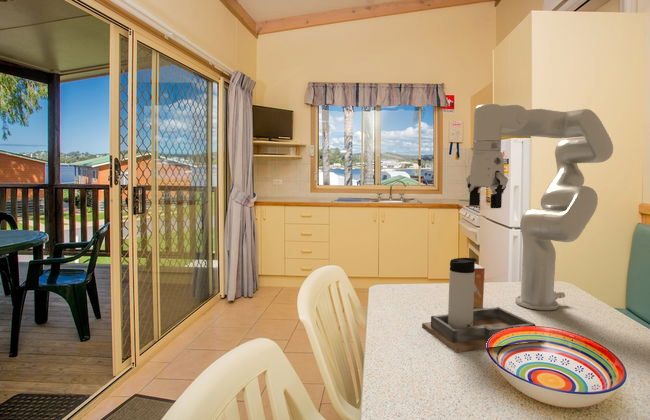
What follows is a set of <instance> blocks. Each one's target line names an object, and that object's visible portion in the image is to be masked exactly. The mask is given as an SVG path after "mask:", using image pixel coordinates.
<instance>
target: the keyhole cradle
mask: <svg viewBox="0 0 650 420" xmlns="http://www.w3.org/2000/svg"><path fill="white" fill-rule="evenodd" d="M421 326H422V328H423V329H425V330H426V331H427V332H429V333H430V334H432V335H433V336H434V337H435V338H437V339H438V340H440V341H441V342H443V344H445V345H446V346H448V347H449V348H450V349H451V350H453V351H454V352H456V353H462V352H463V353H464V352H471V351H478V350H485V349H486V343H487V341H488V339H489V338H490V337H491V336H492V335H493V334H495V333H497V332H499V331H501V330H504V329H508V328H513V327H520V326H535V327H536V324H535V323H534V322H531V321H529V320H527V319H524V318H522V317H521V316H518V315H516V314H514V313H512V312H510V311H507V310H505V309H504V308H501V307H499V306H498V307H497V306H496V307H486V308H479V309H473V327H471V328H462V329H454V328H452V327H451V326H449V325H448V313H447V314H438V315H431V316H430V321H429V322H422V323H421Z"/></svg>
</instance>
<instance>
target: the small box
mask: <svg viewBox="0 0 650 420" xmlns="http://www.w3.org/2000/svg"><path fill="white" fill-rule="evenodd" d="M474 269H475V273H474V274H475V279H474V307H473V308H483V307H484V292H485V291H484V289H485V288H484V287H485V271H486V270H485V267H483V266H481V265H479V264H477V263H475V268H474Z"/></svg>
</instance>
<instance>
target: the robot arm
mask: <svg viewBox="0 0 650 420" xmlns="http://www.w3.org/2000/svg"><path fill="white" fill-rule="evenodd" d="M473 114H474V115H473V140H472V141H473V144H472V156H471V157H472V158H471V164H470V173H469V175H468V176H467V177H466V179H465V180H466V183H467V184H466V185H467V186H466V187H467V188H468V193H469V206H471V207H473V206H475V207H478V206H480V203H481V202H480V200H481V195H480V194H481V192H479V191H480V190H481V188H490V191H491V194H490V209H502V200H503V199H502V198H503V194H504V191H505V190H506V188H507V184H508V182H509V178H508V177H506V175H505V162H504V155H503V152H502V136H512V137H513V136H514V137H535V138H537V137H538V138H550V139H562V140H561V141H560V142H558V143H557V144H556V146H555V150H554V156H555V158H554V159H555V162H556V175H555V176H554V178H553V180H552V181H551V183H550V184H549V186H548V187H547V188H546V190H545V192H544V193H543V195H542V196H541V199H540V207H541V208H533V209H528V210H526V211H525V212H524V213H523V214H522V215H521V218H520V231H521V235H522V236H521V237H522V259H521V260H522V261H521V263H522V264H521V281H520V283H521V284H520V285H521V286H520V295H519V296H516V297H515V303H516V304H517V305H518V306H521V307H524V308H527V309H531V310H538V311H556V310H558V309H559V306H560V303H558V301H557V300H558V299H564V298H565V297H566V294H565V292H563V291H559V292H557V291H555V275H556V261H557V260H556V257H557V256H556V254H557V253H556V248H555V246H554V244H553V242H552V241H554V242H562V243H572V242H575V241H576V240H577V239H578V238H579V237H580V236H581V234H582V233H583V231H584V230H585V228H586V227H587V225H588V223H589V222H590V220H591V219H592V217H593V215H594V213H595V212H596V210H597V207H598V203H599V202H598V199H599V198H598V194H597V192H596V191H595V189H594V188H593V187H590V186H587V185H584V182H585V176H584V174H583V172H582V171H581V170H580V168H579V166H578V164H594V163H595V164H596V163H604V162H606V161H608V160H609V159H611V157H612V155H613V153H614V144H613V141H612V139H611V137H610V135H609V133H608V131H607V129H606V127H605V125H604V124H603V122H602V121H601V119H600V118H599V116H598V115H597V114H596V113H595V112H594V111H593V110H591V109H588V108H583V109H575V110H570V111H569V110H568V111H559V110H552V109H544V108H534V109H533V108H532V109H527V108H525V107H524V106H522V105H519V104H509V105H506V104H505V105H501V104H498V103H485V104H479V105H477V106H476V107H475V108H474V113H473Z"/></svg>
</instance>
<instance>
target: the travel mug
mask: <svg viewBox="0 0 650 420" xmlns="http://www.w3.org/2000/svg"><path fill="white" fill-rule="evenodd" d="M477 261H478V260H477V258H476V257H457V258H456V257H455V258H453V259H450V260H449V273H448V274H449V275H448V277H449V280H448V281H449V283H448V304H447V305H448V308H447V310H448V312H447V314H448V325H449V326H451V327H452V328H454V329H462V328H471V327H473V310H474V308H475V307H474V279H475V274H474V273H475V269H474V268H475V264H476V262H477Z"/></svg>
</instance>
